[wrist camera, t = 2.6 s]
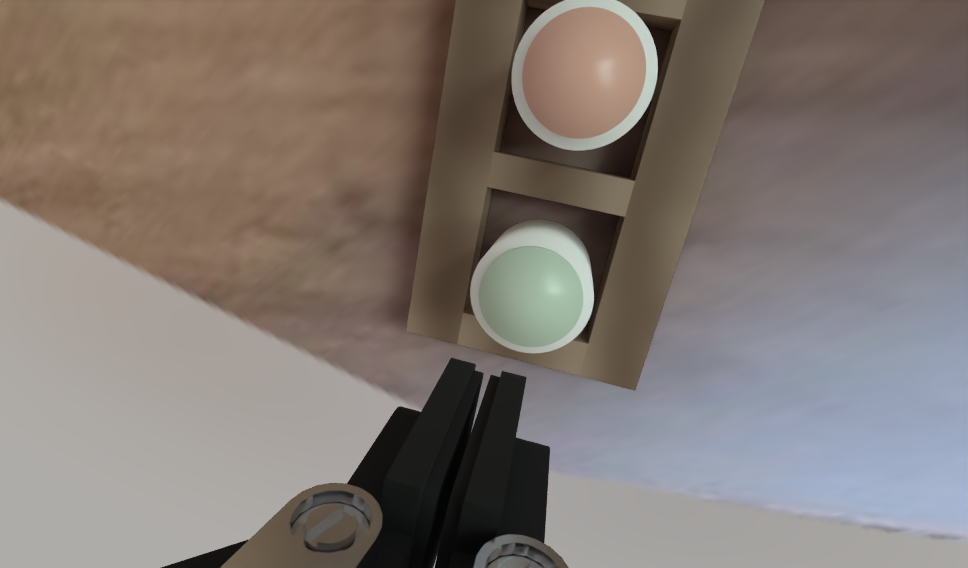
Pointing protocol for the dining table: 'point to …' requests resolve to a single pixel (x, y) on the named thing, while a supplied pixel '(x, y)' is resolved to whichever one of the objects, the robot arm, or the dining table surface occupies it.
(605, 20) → the small jar
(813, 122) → the dining table surface
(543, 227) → the white round cylinder
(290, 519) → the robot arm
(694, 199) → the rack with square compartments
